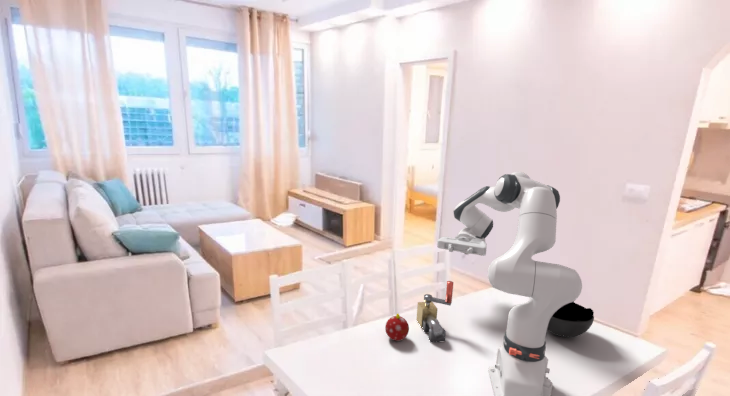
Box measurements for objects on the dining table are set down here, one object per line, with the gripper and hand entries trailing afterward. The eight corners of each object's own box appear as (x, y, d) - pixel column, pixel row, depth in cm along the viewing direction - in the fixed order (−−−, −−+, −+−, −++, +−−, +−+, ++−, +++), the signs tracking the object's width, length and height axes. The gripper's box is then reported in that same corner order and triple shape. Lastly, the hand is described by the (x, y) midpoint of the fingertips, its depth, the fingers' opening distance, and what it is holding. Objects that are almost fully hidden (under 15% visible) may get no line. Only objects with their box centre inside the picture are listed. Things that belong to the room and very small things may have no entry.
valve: (416, 320, 153) (418, 298, 151) (430, 319, 154) (432, 297, 152) (430, 343, 137) (432, 319, 135) (446, 342, 138) (448, 318, 136)
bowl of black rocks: (581, 325, 155) (588, 282, 151) (597, 352, 136) (605, 304, 132) (529, 316, 160) (534, 275, 156) (537, 342, 141) (543, 295, 137)
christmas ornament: (391, 347, 134) (392, 321, 132) (381, 334, 141) (382, 310, 140) (412, 343, 137) (414, 317, 135) (401, 330, 145) (403, 306, 143)
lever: (422, 301, 148) (424, 278, 146) (424, 298, 150) (426, 275, 149) (450, 307, 143) (452, 284, 142) (452, 304, 146) (454, 281, 144)
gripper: (441, 231, 169) (433, 239, 157) (489, 239, 161) (485, 248, 149) (440, 245, 170) (432, 254, 158) (487, 253, 162) (483, 263, 150)
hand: (458, 251), depth 153 cm, fingers open, 5 cm apart
